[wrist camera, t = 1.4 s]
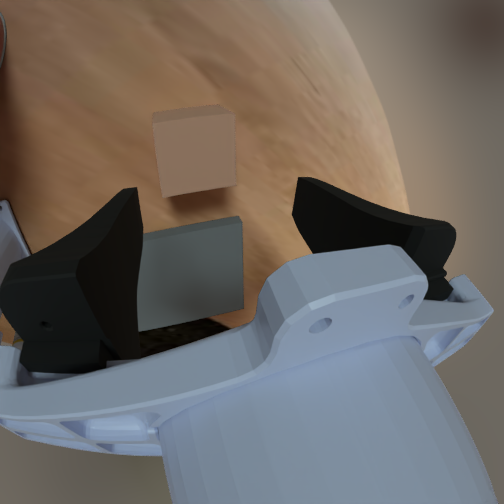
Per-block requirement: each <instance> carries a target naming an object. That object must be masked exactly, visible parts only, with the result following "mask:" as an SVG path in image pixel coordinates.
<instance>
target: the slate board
mask: <svg viewBox="0 0 504 504" xmlns="http://www.w3.org/2000/svg"><path fill="white" fill-rule="evenodd" d="M240 309H244V295H243V238H242V221H241V219H240V218H239V216H235V217H229V218H223V219H218V220H212V221H207V222H201V223H196V224H191V225H185V226H180V227H175V228H170V229H165V230H160V231H155V232H150V233H146V234H143V249H142V256H141V263H140V271H139V279H138V288H137V313H138V331H144V330H149V329H154V328H159V327H164V326H169V325H174V324H179V323H184V322H188V321H193V320H197V319H202V318H206V317H211V316H215V315H219V314H223V313H228V312H232V311H236V310H240Z"/></svg>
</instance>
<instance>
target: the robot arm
mask: <svg viewBox="0 0 504 504" xmlns="http://www.w3.org/2000/svg"><path fill="white" fill-rule="evenodd" d="M0 206H1V207H2V209H1V208H0V318H1V315H2V313H3V314H4V316H5V318H6V319H7V320H8V322H9V323H10V324H11V326H12V327H13V328H14V330H15V331H16V332H17V334H18V335H19V336H20V337H21V339H22V340H23V341H24V342H23V346H22V350H20V349H19V348H17V347H14V346H2V345H0V425H1V426H3V427H4V428H6V429H8V430H9V431H11V432H13V433H15V434H16V435H18V436H20V437H22V438H24V439H28V440H32V441H37V442H41V443H46V444H51V445H56V446H62V447H67V448H73V449H79V450H86V451H93V452H100V453H109V454H121V455H137V456H163V461H164V467H165V472H166V477H167V482H168V486H169V491H170V494H171V499H172V503H173V504H499V503H498V501H497V499H496V497H495V494H494V490H493V487H492V484H491V481H490V479H489V476H488V474H487V471H486V469H485V466H484V464H483V462H482V459H481V457H480V455H479V452H478V450H477V448H476V446H475V444H474V441H473V439H472V437H471V435H470V433H469V431H468V429H467V427H466V425H465V423H464V421H463V419H462V417H461V415H460V413H459V411H458V410H457V408H456V406H455V404H454V402H453V400H452V398H451V397H450V395H449V393H448V391H447V390H446V388H445V386H444V384H443V383H442V381H441V379H440V377H439V376H438V374H437V372H436V371H435V369H434V367H435V366H436V365H438V364H439V363H440V362H442V361H443V360H444V359H446V358H448V357H449V356H450V355H452V354H453V353H455V352H456V351H458V350H459V349H460V348H462V347H463V346H465V345H466V344H467V342H468V341H469V340H470V339H471V338H472V337H473V336H474V335H475V334H476V332H477V331H478V330H479V329H480V328H481V327H482V325H483V324H484V323H485V322H486V321H487V319H488V318H489V317H490V316H491V314H492V313H493V309H492V307H491V306H490V304H489V303H488V302H487V300H486V299H485V298H484V297H483V295H482V294H481V293H480V292H479V291H478V289H477V288H476V287H475V286H474V285H473V284H472V282H471V281H470V280H469V279H468V278H467V276H466V275H464V274H462V275H460V276H457V277H454V278H452V279H451V280H450V281H449V282H448V281H447V280H446V279H445V278H444V277H445V276H446V275H447V272H446V271H445V270H444V269H443V266H444V264H445V263H446V261H447V259H448V257H449V255H450V253H451V252H452V249H453V247H454V245H455V241H456V230H455V228H454V227H453V226H452V225H450V223H448V222H445V221H440V220H434V219H427V218H422V217H418V216H414V215H409V214H405V213H402V212H398V211H395V210H392V209H388V208H385V207H382V206H380V205H377V204H374V203H371V202H369V201H366V200H364V199H362V198H359V197H357V196H355V195H352V194H350V193H348V192H346V191H344V190H341V189H339V188H337V187H335V186H333V185H330V184H328V183H326V182H323V181H321V180H318V179H315V178H311V177H298V181H297V187H296V193H295V199H294V205H293V211H292V216H293V219H294V221H295V224H296V226H297V228H298V230H299V232H300V234H301V235H302V237H303V239H304V240H305V242H306V243H307V245H308V247H309V248H310V250H311V251H312V253H313V254H310V255H306V256H303V257H300V258H297V259H294V260H291V261H288V262H286V263H285V264H283V265H282V266H281V267H280V268H279V269H277V270H276V271H275V272H274V273H272V274H271V275H270V276H269V277H268V278H267V279H266V281H265V283H264V285H263V287H262V289H261V291H260V293H259V295H258V303H257V310H256V314H255V317H254V319H253V320H252V321H251V322H249V323H247V324H244V325H241V326H238V327H236V328H233V329H230V330H227V331H225V332H222V333H219V334H216V335H213V336H210V337H208V338H205V339H202V340H199V341H196V342H193V343H190V344H187V345H184V346H181V347H177V348H174V349H171V350H168V351H165V352H161V353H158V354H155V355H152V356H148V357H145V358H141V352H140V342H139V331H138V313H137V288H138V279H139V271H140V263H141V256H142V249H143V223H142V217H141V211H140V204H139V198H138V190H137V187H134V188H127V189H123V190H121V191H120V192H119V193H118V194H116V195H115V196H114V197H113V198H112V199H111V200H110V201H109V202H108V203H107V204H106V205H105V206H103V207H102V208H101V209H100V210H99V211H98V212H97V213H95V214H94V215H93V216H92V217H91V218H90V219H89V220H87V221H86V222H85V223H84V224H82V225H81V226H79V227H78V228H77V229H75V230H74V231H73V232H71V233H70V234H68V235H66V236H65V237H63V238H62V239H60V240H58V241H57V242H55V243H53V244H52V245H50V246H48V247H46V248H44V249H42V250H40V251H38V252H36V253H34V254H32V255H31V254H30V252H29V250H28V247H27V245H26V243H25V241H24V239H23V237H22V234H21V232H20V230H19V228H18V225H17V223H16V220H15V218H14V215H13V213H12V210H11V208H10V205H9V203H8V201H7V200H2V201H0ZM2 336H3V334H2V332H1V331H0V344H1V340H2Z"/></svg>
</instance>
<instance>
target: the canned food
mask: <svg viewBox="0 0 504 504" xmlns="http://www.w3.org/2000/svg"><path fill="white" fill-rule="evenodd" d="M5 47H6V24H5V20H4V18H3V16H2V14H1V12H0V68H1V65H2V61H3V57H4V52H5Z"/></svg>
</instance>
